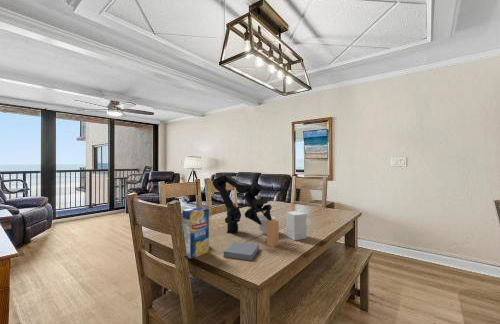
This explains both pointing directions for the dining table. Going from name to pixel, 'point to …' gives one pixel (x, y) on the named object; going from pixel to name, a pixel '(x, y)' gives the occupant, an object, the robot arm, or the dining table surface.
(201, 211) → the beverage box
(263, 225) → the teacup
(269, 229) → the orange carton
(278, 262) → the dining table surface
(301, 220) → the supplement box
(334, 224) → the dining table surface
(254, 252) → the display podium
